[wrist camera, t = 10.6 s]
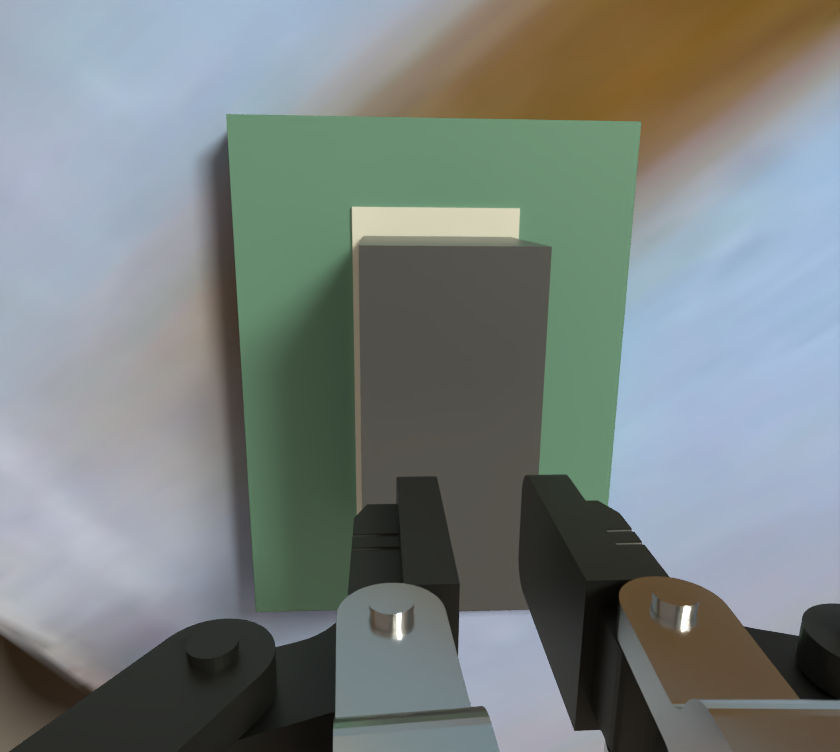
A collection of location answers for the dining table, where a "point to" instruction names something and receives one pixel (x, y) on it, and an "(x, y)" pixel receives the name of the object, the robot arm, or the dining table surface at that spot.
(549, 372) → the board
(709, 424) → the dining table surface
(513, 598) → the block
